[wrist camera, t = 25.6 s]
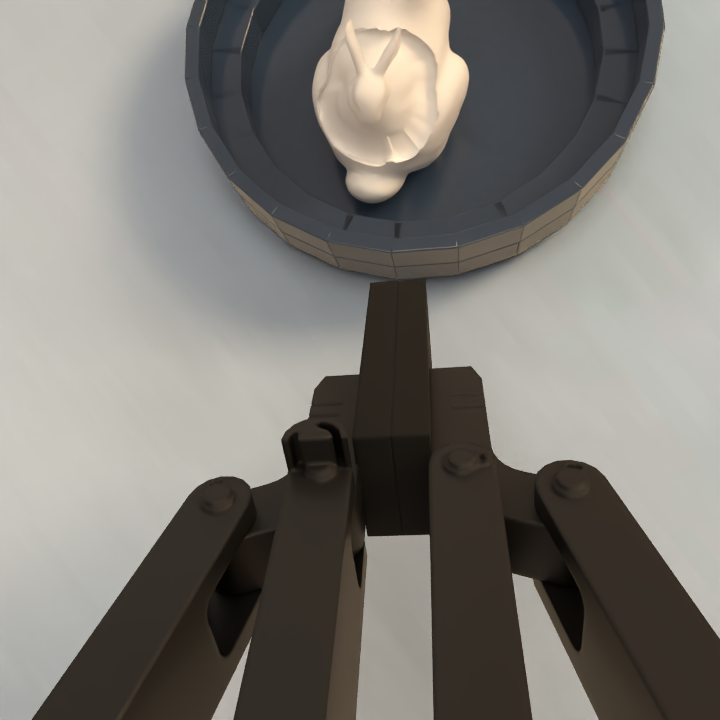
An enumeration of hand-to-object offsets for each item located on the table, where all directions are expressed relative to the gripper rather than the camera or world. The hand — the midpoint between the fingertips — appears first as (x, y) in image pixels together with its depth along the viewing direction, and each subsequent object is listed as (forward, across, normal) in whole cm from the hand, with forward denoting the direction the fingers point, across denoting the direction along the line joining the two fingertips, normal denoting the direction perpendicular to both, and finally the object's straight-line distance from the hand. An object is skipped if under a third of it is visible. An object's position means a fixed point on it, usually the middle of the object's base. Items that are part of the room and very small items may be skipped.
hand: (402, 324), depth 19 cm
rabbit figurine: (+16, +1, +2) cm, 16 cm away
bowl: (+17, +1, +3) cm, 17 cm away
